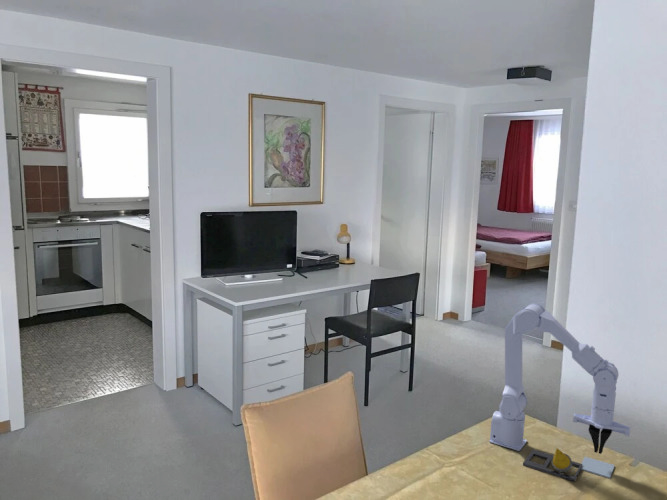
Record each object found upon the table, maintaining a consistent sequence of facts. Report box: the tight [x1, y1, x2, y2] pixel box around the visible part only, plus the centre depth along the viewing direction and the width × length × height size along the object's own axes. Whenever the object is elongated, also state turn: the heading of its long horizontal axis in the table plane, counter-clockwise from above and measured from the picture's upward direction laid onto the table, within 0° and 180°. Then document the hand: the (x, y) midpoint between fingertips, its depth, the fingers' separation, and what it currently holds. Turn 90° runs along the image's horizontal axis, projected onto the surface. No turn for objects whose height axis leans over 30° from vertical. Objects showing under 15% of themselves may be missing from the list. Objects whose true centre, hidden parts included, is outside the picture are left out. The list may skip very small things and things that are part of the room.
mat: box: [580, 456, 616, 479], centre depth 160 cm, size 8×8×1 cm
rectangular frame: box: [522, 449, 583, 483], centre depth 160 cm, size 14×10×1 cm
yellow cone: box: [550, 448, 573, 473], centre depth 156 cm, size 5×5×10 cm
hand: (598, 451), depth 159 cm, fingers closed
